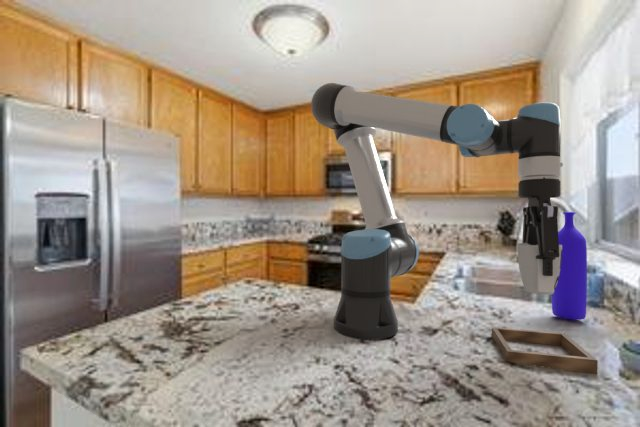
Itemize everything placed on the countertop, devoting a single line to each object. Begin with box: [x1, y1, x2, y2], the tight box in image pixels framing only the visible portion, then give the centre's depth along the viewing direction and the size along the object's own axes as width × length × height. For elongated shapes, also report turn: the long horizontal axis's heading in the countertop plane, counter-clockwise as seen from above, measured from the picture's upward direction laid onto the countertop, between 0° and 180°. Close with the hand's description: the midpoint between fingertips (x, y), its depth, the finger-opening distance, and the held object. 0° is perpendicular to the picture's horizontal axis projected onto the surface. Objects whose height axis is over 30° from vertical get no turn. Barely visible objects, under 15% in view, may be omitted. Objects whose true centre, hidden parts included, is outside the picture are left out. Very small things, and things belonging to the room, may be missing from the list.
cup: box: [516, 242, 562, 296], centre depth 74 cm, size 8×8×10 cm
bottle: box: [551, 211, 588, 321], centre depth 101 cm, size 8×8×30 cm
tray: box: [491, 326, 598, 375], centre depth 74 cm, size 15×15×2 cm
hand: (538, 287), depth 74 cm, fingers closed on cup, 7 cm apart
